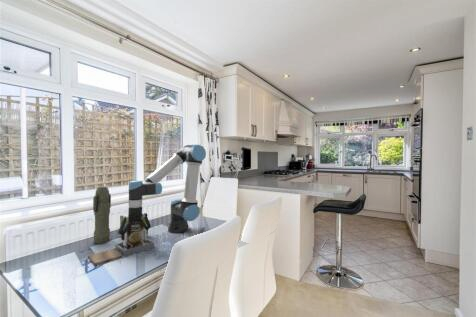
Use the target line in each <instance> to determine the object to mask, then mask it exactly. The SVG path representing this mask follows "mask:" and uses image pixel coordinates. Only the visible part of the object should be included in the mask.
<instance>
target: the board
mask: <svg viewBox="0 0 476 317" xmlns="http://www.w3.org/2000/svg"><path fill="white" fill-rule="evenodd" d="M122 258H123V255H122V254H120V253H119V252H118V251H117V250H115V248H111V249H107V250H103V251H98V252H95V253H92V254H87V259H88V260H89V259H90V260H89V262H91V263H92V264H93V265H94V266H96V267H97V266H98V265H101V264H105V263H109V262H111V261H114V260H118V259H122Z"/></svg>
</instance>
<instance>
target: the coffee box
mask: <svg viewBox="0 0 476 317" xmlns="http://www.w3.org/2000/svg"><path fill="white" fill-rule="evenodd" d="M143 235H144V222H143V221H139V222H133V223H130V224H129V223H128V221H127V237H126V241H127V247H126V250H127V249H131V248H134V247H138V246H141V245H144V242H143Z"/></svg>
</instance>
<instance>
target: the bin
mask: <svg viewBox="0 0 476 317" xmlns="http://www.w3.org/2000/svg"><path fill="white" fill-rule="evenodd" d="M143 243H145V244H143V245H141V246H138V247H134V248H131V249H127V240H126V246H124V245H123V241H122V242H118V243H115V244H114V249H116V251H118V252H119V253H120V254H121V255H122V257H127V256H129V255H133V254H136V253H139V252H143V251H146V250H150V249H153V248H155V241H153V240H152V239H151V240H150V239H149V238H147V240H146V241H145V240H143ZM125 248H126V249H125Z"/></svg>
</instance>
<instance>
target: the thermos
mask: <svg viewBox="0 0 476 317" xmlns="http://www.w3.org/2000/svg"><path fill="white" fill-rule="evenodd" d="M94 194H95V195H94V196H93V198H92V199H93V200H92V201H93V203H92V204H93V206H92V210H93V215H94V231H93V243H94V242H95V243H94V244H104V242H105V243H108V242H110V240H111V239H110V236H111V235H110V234H111V229H110V215H111V214H110V213H111V208H112V207H111V206H112V204H111V202H112V201H111V199H112V196H111V193H110V190H109V188H108V187H107V186H99V187H97V188H96V190H95V193H94ZM107 241H108V242H107Z"/></svg>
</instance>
